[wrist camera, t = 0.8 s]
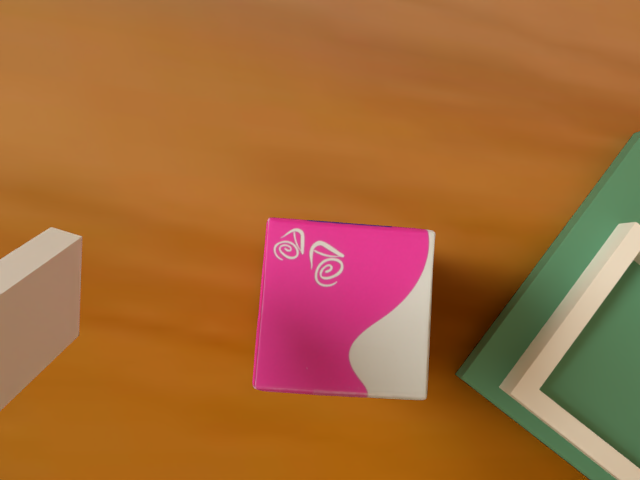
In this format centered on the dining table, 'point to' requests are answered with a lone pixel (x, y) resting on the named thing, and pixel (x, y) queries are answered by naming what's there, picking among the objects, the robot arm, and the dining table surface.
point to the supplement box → (344, 310)
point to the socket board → (577, 335)
